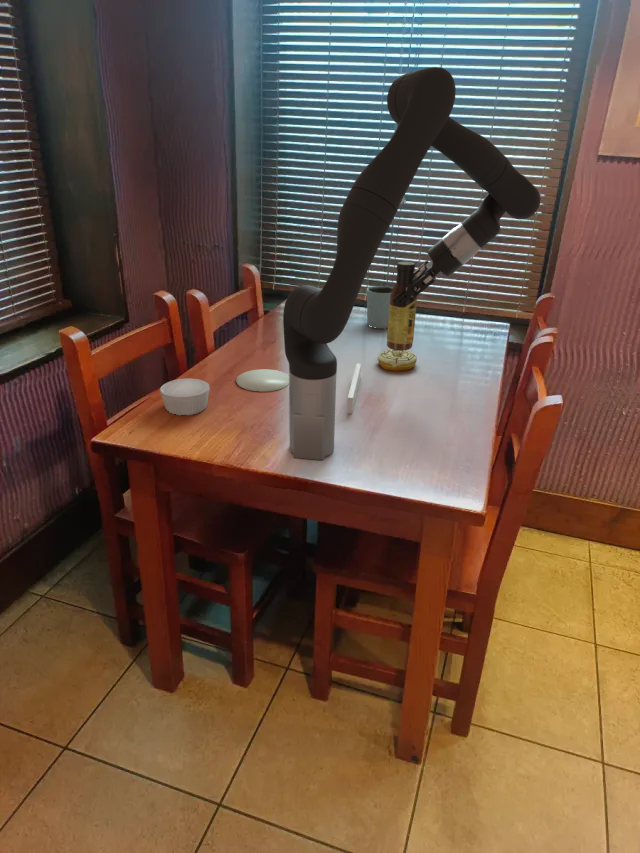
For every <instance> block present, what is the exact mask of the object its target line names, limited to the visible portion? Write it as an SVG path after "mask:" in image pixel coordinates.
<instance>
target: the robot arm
mask: <svg viewBox="0 0 640 853" xmlns="http://www.w3.org/2000/svg"><path fill="white" fill-rule="evenodd" d="M456 92H457V91H456V83H455V79H454V77H453V76H452V74H451V72H450V71H448V70H447V69H446V68H443V67H437V66H432V67H425V68H421V69H417V70H414V71H409V72H406V73H404V74H401V75H400V76H398V77H396V78H395V79H394V80H393V82H392V83H391V85H390V86H389V88H388V91H387V95H386V105H387V110H388V113H389V115H390V117H391V118H392V120H393V121H394V123H395V124H397V127H396V129H395V131H394V133H393V134H392V136H391V138H390V139H389V140H388V142H387V143H386V145H385V146H383V148H382V149H381V150H380V151H379V152H378V153H377V154H376V156H375V157H374V158H373V159H372V160H371V161H370V162H369V163H367V164H368V165H366V167H365V168H364V169H363V170H362V171H361V172H360V174H359V175H358V176H357V177H356V179H355V181H354V182H353V184H352V186H351V188H350V190H349V192H348V193H347V196H346V198H345V201H344V202H343V204H342V207H341V209H340V211H339V214H338V220H337V228H336V229H337V231H336V253H335V259H334V263H333V266H332V269H331V271H330V274H329V276H328V277H327V280H326V281H325V284H324V285H323V287H322V288H319V287H316V286H314V285H309V284H302V285H299V286H297V287H295V288H294V289H292V291H290V293H289V294H288V296H287V298H286V300H285V303H284V307H283V312H282V313H283V316H282V319H283V323H282V325H283V339H284V340H283V343H284V353H285V357H286V360H287V362H288V368H289V371H288V373H289V374H288V375H289V385H288V388H289V390H288V392H289V394H288V395H289V398H288V400H289V402H288V404H289V405H288V406H289V410H288V414H289V421H288V422H289V427H288V428H289V451H290V452H291V453H292V457H293V458H295V459H296V458H297V459H306V460H308V459H309V460H319V461H323V460H324V459H325V458H326V457H328V456H330V455H331V454H332V453H333V452H334V451H335V434H336V433H335V428H336V427H335V426H336V403H337V402H336V398H337V394H336V393H337V375H338V372H337V371H338V360H337V357H336V355H335V354H334V353H333V351H332V350H331V348H330V347H329V346H328V344H329V343H332V342H334V341H335V340H336V339H338V337H339V336H340V335H341V334H342V333H343V331H344V329H345V327H346V326H347V323H348V321H349V319H350V317H351V314H352V311H353V309H354V306H355V303H356V300H357V298H358V295H359V293H360V290H361V288H362V286H363V283H364V280H365V278H366V276H367V274H368V271H369V269H370V267H371V266H372V263H373V260H374V258H375V256H376V254H377V252H378V249H379V248H380V246H381V243H382V241H383V240H384V237H385V236H386V234H387V232H388V230H389V228H390V226H391V224H392V222H393V220H394V218H395V217H396V214H397V212H398V210H399V208H400V205H401V204H402V201H403V199H404V196H405V195H406V193H407V191H408V189H409V188H410V186H411V184H412V182H413V180H414V178H415V176H416V173H417V172H418V170H419V168H420V166H421V164H422V162H423V160H424V159H425V156H426V155H427V154H428V151H429V150H430V148H431V147H432V148H434V149H435V150H437V151H438V152H439V153H441V154H442V155H443V156H444V157H445V158H448V160H450V161H451V162H452V163H454V164H455V165H456V166H457V167H459V168H460V170H462V172H464V173H465V174H466V175H467V176H468V177H469V178H471V179H472V181H473V182H474V183H476V184H477V185H478V186H479V187H480V188H481V189H483V190H484V191H485V192H487V195H486V196H485V197H484V199H483V200H482V201H481V203H480V204H479V205H478V207H477V209H476V210H474V211H473V212H472V213H471V214H470V215H468V216H467V217H466V218H465V219H464V220H463V221H462V222H460V223H459V224H458V225H457V226H455V227H453V228H452V229H450V230H449V232H448V233H446V234H445V235H444V236H443V237H442V238H441V239H439V241H437V242H436V243H435V244H433V245H432V246H431V247H430V248H429V249H428V250H427V255H428V257H429V258H430V261H428V260H425V261H423V264H421V265H420V266H419V267H418V268H417V269H416V270H414V275H413V278H412V279H411V283H410V284H409V285H408V286H407V287H406V288H405V289H404V290H403V291H402V292H401V293H400V294H399V295H397V296H396V297H395V298H394V299H393V303H394V304H395V305H396V306H397V307H400V306H401V305H402V304H404V303H405V302H406V301H407V300H408V299H410V298H411V297H417V296H419V294H421V293H422V292H424V291H425V290H427V288H429V287H430V286H431V285H432V284H434V283H435V281H436V279H437V278H436V277H437V276H438V275H439V273H442V274H443V275H444V276H445V277H447V278H449V277H451V276H452V275H453V274H454V273H455V272H457V271H458V270H459V269H460V268H461V267H462V266H464V265H465V264H466V263H468V262H469V261H470V260H471V259H472V258H473V257H475V255H477V253H478V252H479V251H480V250H481V249H483V248H484V247H485V246H486V245H487V244H489V242H491V241H492V240H494V239H495V238H496V236H497V235H498V234H499V233H500V231H501V225H500V219H502V217H503V215H505V213H507V214H508V215H509V217H511V218H513V219H515V220H526V219H529V218H531V217H533V216H534V215H535V214H536V213H537V212H538V210H539V207H540V206H541V194H540V192H539V189H538V188H537V186H535V185H534V184H533V183H532V182H531V181H530V180H529V179H528V177H526V176H525V175H524V174H522V173H520V172H519V171H518V170H517V168H515V167H514V166H513V164H512V163H511V161H510V160H509V159H508V157H506V156H505V154H503V152H502V151H500V149H499V148H498V147H497V146H496V145H495V144H493V142H491V141H490V140H489V139H487V137H485V136H482V135H481V134H480V133H478V132H475V131H474V130H471V129H470V128H468V127H466V126H464V125H463V124H461V123H459V122H457V121H456V120H454V118H452V117H450V116H451V113H452V110H453V108H454V105H455V101H456V95H457V94H456ZM413 287H414V289H415V290H414V289H413Z"/></svg>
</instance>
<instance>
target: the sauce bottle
mask: <svg viewBox="0 0 640 853" xmlns="http://www.w3.org/2000/svg"><path fill="white" fill-rule="evenodd" d="M415 269H416V263H415V262H413V261H411V262H410V261H399V262H397V263H396V273H397V274H396V283H395V285H394V286H392V287H393V289H392V291H391V295H390V304H389V317H388V329H387V332H386V333H387V334H386V340H387V341H386V346H387V348H388V349H392V350H399V351H404V350H407V351H410V350H411V349H412V347H413V343H414V335H415V324H416V314H417V312H416V311H417V303H418V302H417V301H418V297H417V296H416V297H411V298H410V299H408V300H407V301H406V302H405V303H404V304H402V305H401V306H400V307H397V306H396V305H395V304H394V303H393V299H394V298H395V297H396V296H397V295H399V294H400V293H401V292H402V291H403V290H404V289H405V288H406V287H407V286H408V285H409V284H410V283H411V279H412V278H413V275H414V272H415V271H416V270H415ZM413 289H414V290H416V288H414V287H413Z"/></svg>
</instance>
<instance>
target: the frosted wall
mask: <svg viewBox="0 0 640 853" xmlns="http://www.w3.org/2000/svg"><path fill="white" fill-rule="evenodd" d="M361 373H362V363H361V362H360V363H359V362H358V363H357V362H356V365H355V368H354V372H353V375H352V379H351V384H350V387H349V391H348V395H347V402H346V403H347V405H346V406H347V407H346V413H347V414H350V415H351V414H353V411H354V407H355V403H356V399H357V394H358V390H359V386H360V385H359V384H360V381H361V375H362V374H361Z"/></svg>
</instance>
